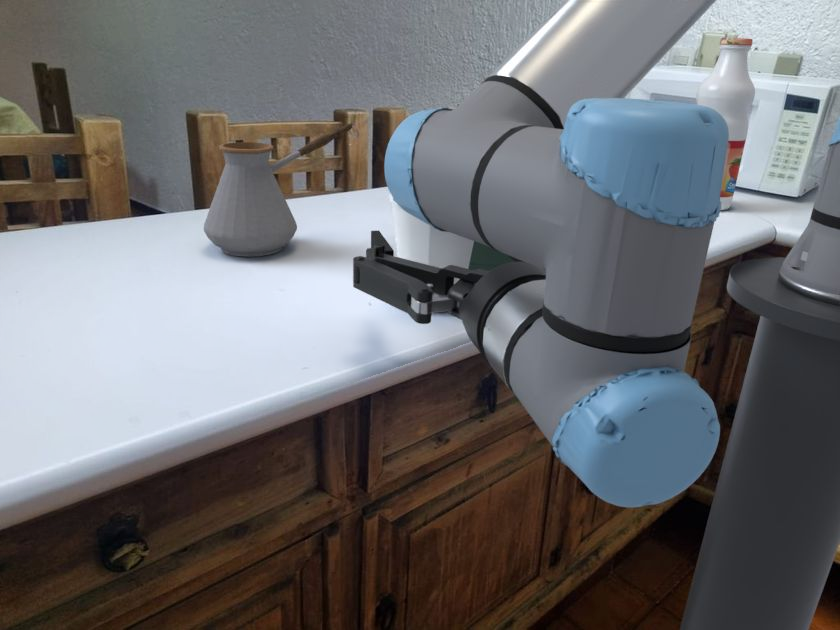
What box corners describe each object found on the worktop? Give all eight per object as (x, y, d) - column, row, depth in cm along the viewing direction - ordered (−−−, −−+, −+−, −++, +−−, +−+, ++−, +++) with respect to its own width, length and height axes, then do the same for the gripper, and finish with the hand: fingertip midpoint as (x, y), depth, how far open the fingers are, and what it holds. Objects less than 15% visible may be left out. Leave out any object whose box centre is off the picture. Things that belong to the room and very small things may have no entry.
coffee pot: (226, 267, 77) (216, 135, 71) (192, 243, 85) (180, 123, 79) (378, 242, 89) (380, 128, 83) (335, 223, 97) (334, 118, 92)
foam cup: (470, 286, 74) (478, 170, 69) (482, 318, 66) (493, 188, 61) (386, 285, 73) (388, 167, 68) (387, 317, 65) (390, 185, 60)
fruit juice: (669, 198, 124) (699, 37, 113) (720, 201, 123) (755, 39, 113) (682, 209, 115) (716, 36, 105) (738, 212, 115) (777, 39, 104)
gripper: (350, 393, 43) (315, 284, 62) (679, 363, 49) (556, 272, 68) (350, 286, 40) (313, 206, 59) (700, 269, 47) (565, 201, 65)
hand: (443, 241), depth 64 cm, fingers open, 13 cm apart
